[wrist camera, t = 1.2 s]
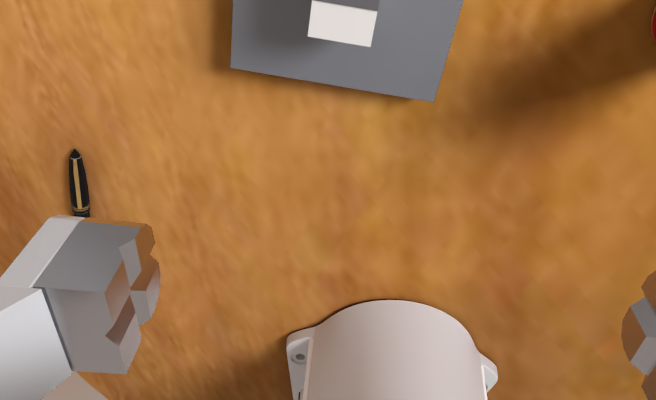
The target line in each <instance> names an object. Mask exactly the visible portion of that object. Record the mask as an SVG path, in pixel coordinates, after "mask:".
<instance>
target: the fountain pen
mask: <svg viewBox="0 0 656 400" xmlns="http://www.w3.org/2000/svg"><path fill="white" fill-rule="evenodd" d="M69 179H70V193H71V202H72V210H73V212H74V216H76V217H84V218H87V217H90V214H89V210H90V203H89V194H88V186H87V180H86V174H85V169H84V165H83V162H82V158H81V155H80V154H79V153H78V152H77V151H76V149H74V150H73V152H72V154H71V155H70V162H69Z"/></svg>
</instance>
